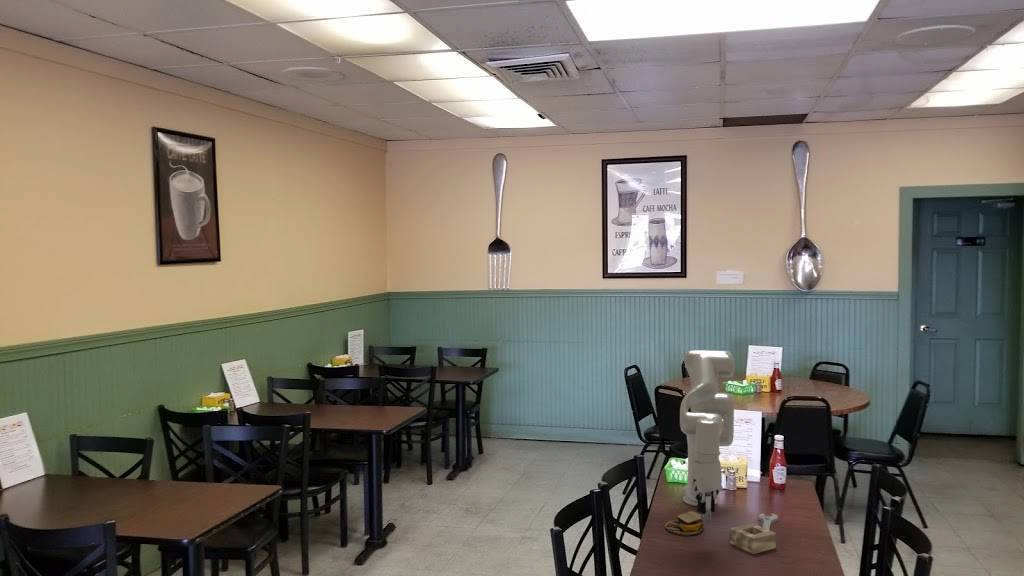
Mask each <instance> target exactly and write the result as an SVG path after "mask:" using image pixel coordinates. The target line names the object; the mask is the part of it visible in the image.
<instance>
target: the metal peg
mask: <svg viewBox="0 0 1024 576" xmlns="http://www.w3.org/2000/svg"><path fill="white" fill-rule="evenodd" d="M711 495H712V492H707V493H705V501H704V502H706V514H702V513H700V515H701V520H702V521H703V522H711V521H712V512H711Z"/></svg>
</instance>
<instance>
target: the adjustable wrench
mask: <svg viewBox="0 0 1024 576" xmlns="http://www.w3.org/2000/svg"><path fill="white" fill-rule="evenodd" d="M757 520H758V521H760V522H762V523H763V524H762V527H763V528H765V529H767V530H770V531H771V525H773V524H774V523H776V522H778V521H779V516H778V514H775V513H770V515H769V516H768V515H767V516H766V514H765V513H760V514H759V515H758V516H757Z"/></svg>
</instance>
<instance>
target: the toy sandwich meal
mask: <svg viewBox="0 0 1024 576" xmlns="http://www.w3.org/2000/svg"><path fill="white" fill-rule="evenodd" d="M676 518H677V519H674V520H669V521H667V522H666V523H665V525H664V526H665V529H667V530H668V531H669V532H670V531H671V533H672V532H673V534H675V533H676V535H679V534H681V535H682V536H695V535H698V534H699V533H701V532H702V531H703V527H704V526H705V524H704V523H705V522H704V521H702V520H701V513H699V512H696V511H694V510H692V511H691V510H690V511H689V510H688V511H687V512H685V513H681V514H679V515H676ZM697 533H698V534H697ZM694 534H695V535H694Z"/></svg>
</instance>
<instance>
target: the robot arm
mask: <svg viewBox="0 0 1024 576" xmlns="http://www.w3.org/2000/svg"><path fill="white" fill-rule="evenodd" d="M683 360H684V361H683V363H684V366H685V369H686V371H687V373H688V376H689V379H690V391H688V392H687V393H686V395H684V397H683V398H682V401H681V403H680V407H679V426H680V431H681V432H682V433H683V434H685V435H686V440H687V484H685V485H684V486H683V487H682V489H681V491H683V492H685V495H684V496H683V497H682V499H683V502H684V503H686V504H687V505H690V506H695V507H697V513H699V514H701V513H702V514H706V502H704V501H705V493H707V492H712V495H711V513H714V512H715V510H716V509H715V505H717V503H718V499H717V496H718V495H719V494H720V492H721V491H722V490H723V488H724V487H723V485H722V484H723V482H722V481H723V480H722V479H723V478H722V477H723V475H722V466H721V460H720V455H721V451H720V447H729V446H731V445H732V444H733V442H734V436H735V435H734V433H735V432H734V425H735V423H734V422H735V420H734V419H735V407H734V406H735V405H734V398H733V396H732V395H731V394H730V393H726V392H719V384H718V383H719V382H718V378H732V377H733V376H734V374H735V370H736V362H735V358H734V355H733V354H732V352H731V351H728V350H713V349H711V350H710V349H691V350H687V351H686V352H685V353H684V357H683ZM689 409H690V411H689Z"/></svg>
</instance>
